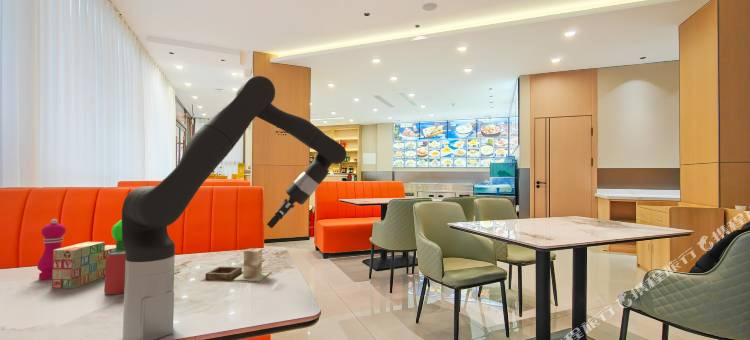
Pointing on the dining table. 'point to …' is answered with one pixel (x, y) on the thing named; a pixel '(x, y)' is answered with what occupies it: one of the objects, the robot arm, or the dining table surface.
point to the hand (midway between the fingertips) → (271, 224)
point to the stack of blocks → (79, 264)
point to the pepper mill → (50, 247)
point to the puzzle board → (232, 275)
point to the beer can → (115, 272)
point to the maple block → (252, 263)
